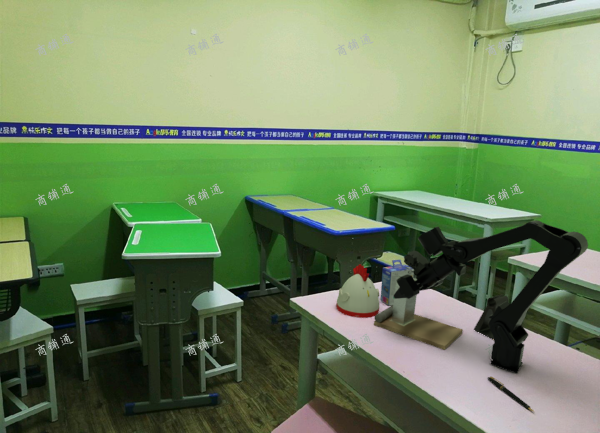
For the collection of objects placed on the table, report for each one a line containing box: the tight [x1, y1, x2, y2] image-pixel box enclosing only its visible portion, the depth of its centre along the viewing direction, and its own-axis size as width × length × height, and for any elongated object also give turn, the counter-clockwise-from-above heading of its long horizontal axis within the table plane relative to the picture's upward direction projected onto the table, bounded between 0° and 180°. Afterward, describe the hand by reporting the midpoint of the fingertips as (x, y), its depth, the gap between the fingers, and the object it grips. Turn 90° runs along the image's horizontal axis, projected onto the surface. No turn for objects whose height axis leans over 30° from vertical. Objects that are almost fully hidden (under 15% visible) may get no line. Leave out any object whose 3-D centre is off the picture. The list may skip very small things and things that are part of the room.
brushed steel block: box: [392, 276, 418, 325], centre depth 138 cm, size 5×6×13 cm
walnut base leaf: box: [373, 305, 464, 351], centre depth 136 cm, size 22×14×4 cm, turn 51°
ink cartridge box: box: [380, 259, 415, 307], centre depth 155 cm, size 10×6×14 cm, turn 116°
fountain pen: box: [487, 376, 535, 412], centre depth 104 cm, size 14×1×2 cm, turn 20°
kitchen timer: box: [335, 264, 381, 319], centre depth 147 cm, size 14×14×15 cm
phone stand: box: [473, 294, 510, 340], centre depth 134 cm, size 9×6×12 cm, turn 32°
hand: (401, 294), depth 138 cm, fingers open, 8 cm apart
